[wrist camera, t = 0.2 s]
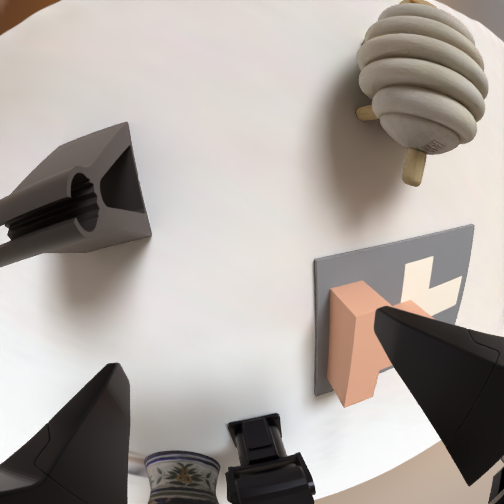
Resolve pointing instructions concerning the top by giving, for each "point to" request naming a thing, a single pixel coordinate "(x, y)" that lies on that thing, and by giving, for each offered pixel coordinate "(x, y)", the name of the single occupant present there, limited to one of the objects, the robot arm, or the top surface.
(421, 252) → the mat
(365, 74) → the toy sheep
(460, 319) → the top surface
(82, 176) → the phone stand
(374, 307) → the t block
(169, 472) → the vase
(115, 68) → the top surface
